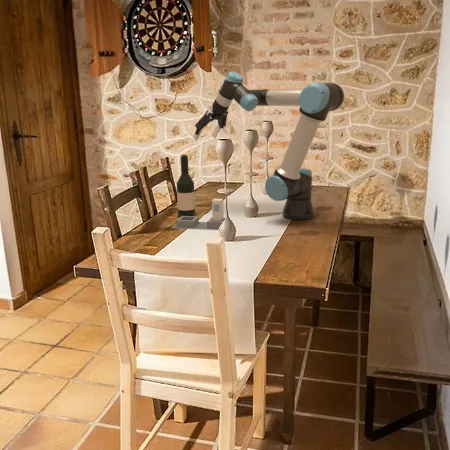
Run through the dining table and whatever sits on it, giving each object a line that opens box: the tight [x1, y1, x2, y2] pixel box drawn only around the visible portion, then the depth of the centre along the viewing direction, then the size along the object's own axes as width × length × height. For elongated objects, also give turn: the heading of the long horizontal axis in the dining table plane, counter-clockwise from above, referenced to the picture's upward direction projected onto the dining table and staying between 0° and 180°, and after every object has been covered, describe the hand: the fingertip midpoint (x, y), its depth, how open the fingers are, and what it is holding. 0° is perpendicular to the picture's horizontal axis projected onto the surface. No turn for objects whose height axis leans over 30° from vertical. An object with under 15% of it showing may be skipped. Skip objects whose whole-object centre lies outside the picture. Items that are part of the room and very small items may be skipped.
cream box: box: [211, 198, 225, 221], centre depth 216 cm, size 4×5×12 cm
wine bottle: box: [176, 154, 196, 219], centre depth 236 cm, size 8×8×30 cm
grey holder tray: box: [170, 215, 226, 231], centre depth 219 cm, size 26×12×4 cm, turn 77°
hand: (204, 138), depth 248 cm, fingers open, 13 cm apart
